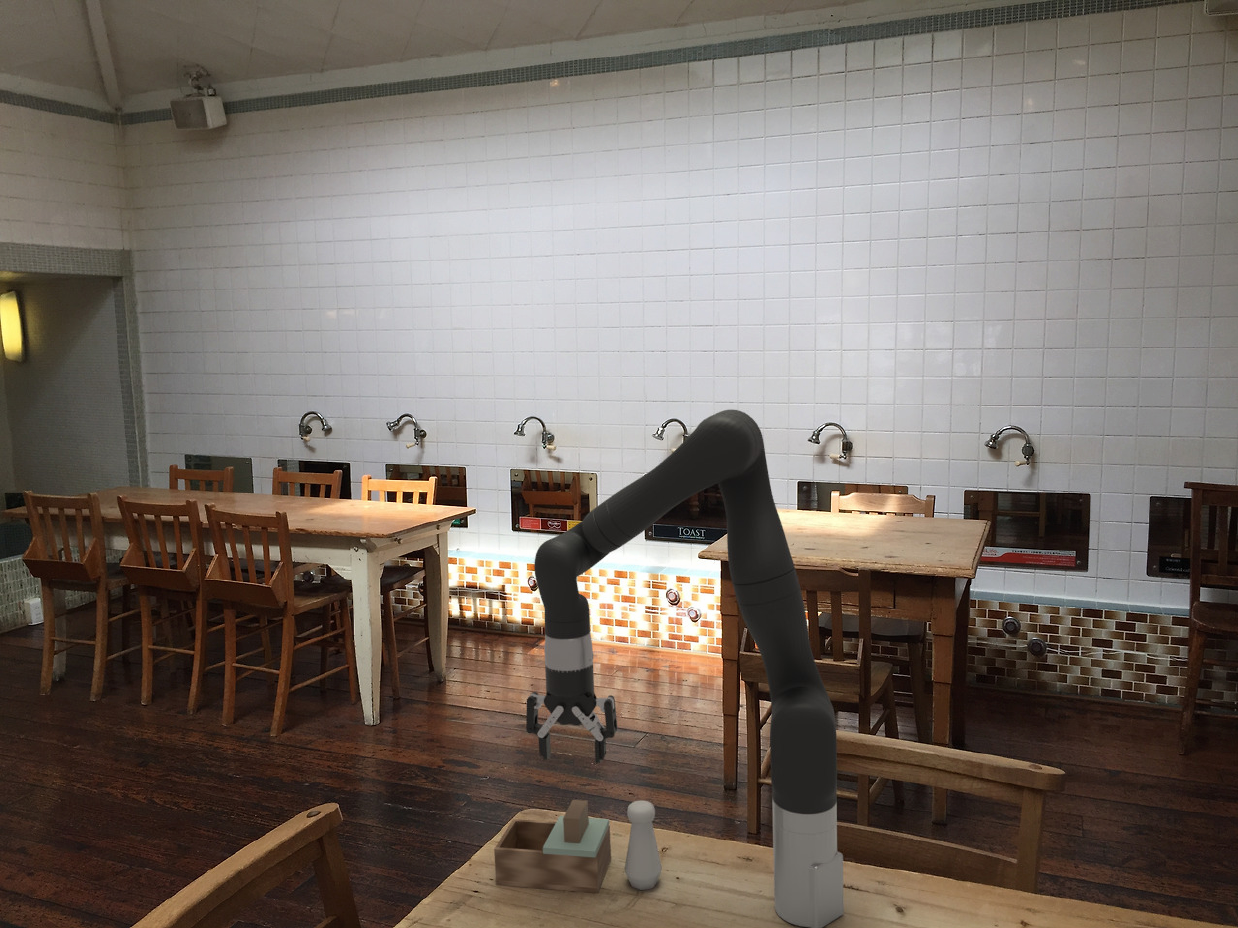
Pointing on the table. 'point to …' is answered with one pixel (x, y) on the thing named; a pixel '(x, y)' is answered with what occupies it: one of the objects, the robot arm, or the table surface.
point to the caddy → (546, 860)
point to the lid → (576, 832)
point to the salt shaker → (642, 847)
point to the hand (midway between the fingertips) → (573, 759)
